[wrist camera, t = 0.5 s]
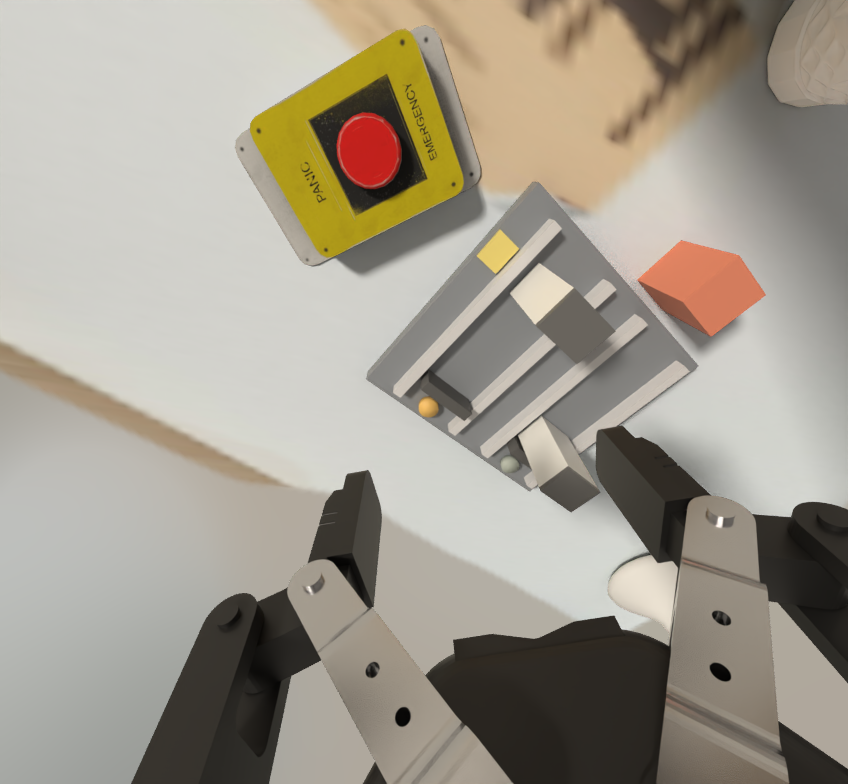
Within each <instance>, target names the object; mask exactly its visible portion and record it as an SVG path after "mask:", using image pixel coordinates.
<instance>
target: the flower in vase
mask: <svg viewBox="0 0 848 784" xmlns="http://www.w3.org/2000/svg"><path fill="white" fill-rule="evenodd" d="M677 571H678V567H677V566H676V565H675V563H674V562H673V561H669V562H663V563H657V562H656V560H655V559H654V558H653V556H652V555H648V556H644V557H640V558H637V559H635V560H632V561H630V562H628V563H626V564H625V565H623V566H622V567H620V568H619V569H618V570H617V571H616V572H615V573H614V574H613V575H612V576H611V578H610V580H609V583H608V595H609V597H610V598H611V599H612V600H613V601H614V602H615V603H616V604H617V605H618V606H620V607H621V608H623V609H625V610H627V611H629V612H632V613H635V614H638V615H641V616H644V617H647V618H650V619H653V620H656V621H657V622H659V623H660V624H661V625H663V626H664V628H665V629H666V630H667V631H668V633H670V625H671V617H672V609H673V601H674V593H675V585H676V577H677Z"/></svg>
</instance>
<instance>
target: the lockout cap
mask: <svg viewBox="0 0 848 784" xmlns="http://www.w3.org/2000/svg"><path fill="white" fill-rule="evenodd" d="M638 281H639V283H640V284H641V285H642V286H643V287H644V289H645V290H646V291H647V292H648V293H649V294H650V296H651V297H652V298H653V299H654V300H655V301H656V303H657V304H658V305H659V306H660V307H661V309H662V310H663V311H665V312H667V313H669V314H671V315H672V316H674V317H676V318H678V319H680V320H682V321H683V322H685V323H687V324H689V325H691V326H692V327H694V328H696V329H698V330H700V331H701V332H703V333H705V334H707V335H709V336H710V337H711V336H713V335H714V334H715V333H717V332H718V331H719V330H721V329H722V328H723V327H725V326H726V325H727V324H728V323H730V322H731V321H732V320H734V319H735V318H736V317H738V316H739V315H740V314H742V313H743V312H744V311H745V310H747V309H748V308H749V307H751V306H752V305H753V304H755V303H756V302H757V301H759V300H760V299H761V298H763V297H764V296H765V295H766V294H765V293H764V291H763V290H762V288H761V287H760V285H759V284H758V283H757V281H756V280H755V278H754V277H753V275H752V274H751V272H750V271H749V269H748V268H747V266H746V265H745V263H744V262H743V260H742V259H741V257H740V256H739V255H736V254H732V253H728V252H724V251H720V250H716V249H713V248H709V247H705V246H701V245H697V244H693V243H689V242H685V241H682V240H681V241H680V242H679V243H678V244H677V245H676V246H674V247H673V248H672V249H671V250H670V251H669V252H668V253H667V254H666V255H664V256H663V257H662V258H661V259H660V260H659V261H658V262H657V263H655V264H654V265H653V266H652V267H651V268H650V269H649V270H648V271H647V272H645V273H644V274H643V275H642V276H641V277H640V278H639V279H638Z"/></svg>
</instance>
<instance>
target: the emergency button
mask: <svg viewBox="0 0 848 784" xmlns="http://www.w3.org/2000/svg"><path fill="white" fill-rule="evenodd" d="M235 149H236V152H237V156H238V158H239V159H240V161H241V163H242V164H243V166H244V168H245V169H246V171H247V173H248V174H249V176H250V178H251V179H252V181H253V183H254V184H255V186H256V188H257V189H258V191H259V193H260V194H261V196H262V198H263V199H264V201H265V203H266V204H267V206H268V208H269V209H270V211H271V213H272V214H273V216H274V218H275V219H276V221H277V223H278V224H279V226H280V228H281V229H282V231H283V233H284V234H285V236H286V238H287V239H288V241H289V243H290V244H291V246H292V248H293V249H294V251H295V253H296V254H297V256H298V258H299V259H300V260H301V261H302V262H303V263H304V264H307V265H310V266H313V265H317V264H320V263H322V262H324V261H326V260H328V259H330V258H332V257H334V256H336V255H338V254H340V253H342V252H344V251H346V250H348V249H350V248H352V247H354V246H356V245H358V244H360V243H362V242H364V241H366V240H368V239H370V238H372V237H374V236H376V235H378V234H380V233H382V232H384V231H386V230H388V229H390V228H392V227H394V226H396V225H398V224H400V223H402V222H404V221H406V220H408V219H410V218H412V217H414V216H416V215H418V214H420V213H422V212H424V211H426V210H428V209H430V208H432V207H434V206H436V205H438V204H440V203H442V202H444V201H446V200H448V199H450V198H452V197H454V196H456V195H458V194H460V193H462V192H464V191H466V190H468V189H470V188H471V187H472V186H474V185H475V184H476V183H477V181H478V179H479V177H480V175H481V173H480V164H479V161H478V158H477V155H476V152H475V148H474V145H473V142H472V139H471V136H470V133H469V129H468V126H467V123H466V120H465V117H464V114H463V110H462V107H461V104H460V101H459V98H458V95H457V91H456V88H455V85H454V82H453V79H452V75H451V72H450V69H449V66H448V63H447V60H446V56H445V53H444V50H443V47H442V44H441V41H440V37H439V36H438V34H437V32H436V31H435V29H434V28H431V27H429V26H426V25H424V26H420V27H417V28H415V29H413V30H411V31H408V30H406V29H401V30H397V31H395V32H393V33H392V34H390V35H389V36H387V37H385V38H384V39H382V40H380V41H379V42H377V43H375V44H374V45H372V46H371V47H369V48H367V49H366V50H364V51H362V52H361V53H359V54H357V55H356V56H354V57H352V58H351V59H349V60H348V61H346V62H344V63H343V64H341V65H339V66H338V67H336V68H334V69H333V70H331V71H330V72H328V73H326V74H325V75H323V76H321V77H320V78H318V79H316V80H315V81H313V82H312V83H310V84H308V85H307V86H305V87H303V88H302V89H300V90H298V91H297V92H295V93H293V94H292V95H290V96H289V97H287V98H285V99H284V100H282V101H280V102H279V103H277V104H275V105H274V106H272V107H271V108H269V109H267V110H266V111H264V112H262V113H261V114H259V115H257V116H256V117H255V118H254V119H253V120H252V121H251V123H250V128H249V129H248V130H246V131H244V132H243V133H242V134H241V135H240V136H239V137H238V138H237V140H236V145H235Z"/></svg>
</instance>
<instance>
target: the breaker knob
mask: <svg viewBox="0 0 848 784" xmlns="http://www.w3.org/2000/svg"><path fill="white" fill-rule="evenodd" d="M518 437H519V439H520V441H521V444H522V446H523V449H524V451H525V454H526V456H527V459H528V461H529V464H530V466H531V469H532V471H533V474H534V476H535V479H536V481H537V484H538V486H539V488H540V491H541V492H543V493H544V494H546V495H547V496H548V497H550V498H551V499H553V500H554V501H556V502H557V503H558V504H560V505H561V506H563V507H564V508H566V509H567V510H568V511H570V512H572V511H574V510H575V509H577V508H578V507H580V506H581V505H583V504H584V503H586V502H587V501H589V500H590V499H592V498H593V497H595V496H596V495H598V494H599V493H600V491H599V489H598V487H597V486H596V484H595V482H594V481H593V479H592V477H591V476H590V474H589V472H588V470H587V469H586V467H585V465H584V464H583V462H582V460H581V459H580V457H579V455H578V453H577V452H576V450H575V448H574V447H573V445H572V443H571V442H570V440H569V438H568V437H567V436H566V435H565V434H564V433H562V432H561V431H560V430H559V429H558V428H556V427H555V426H554V425H553V424H551V423H550V422H549V421H548V420H546V419H545V418H544V417H543V416H542V415H541V416H540V417H539V418H538V419H536V420H535V421H534V422H533V423H532V424H530V425H529V426H528V427H527V428H526V429H524V430H523V431H522V432H521V433H520V434H518Z"/></svg>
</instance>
